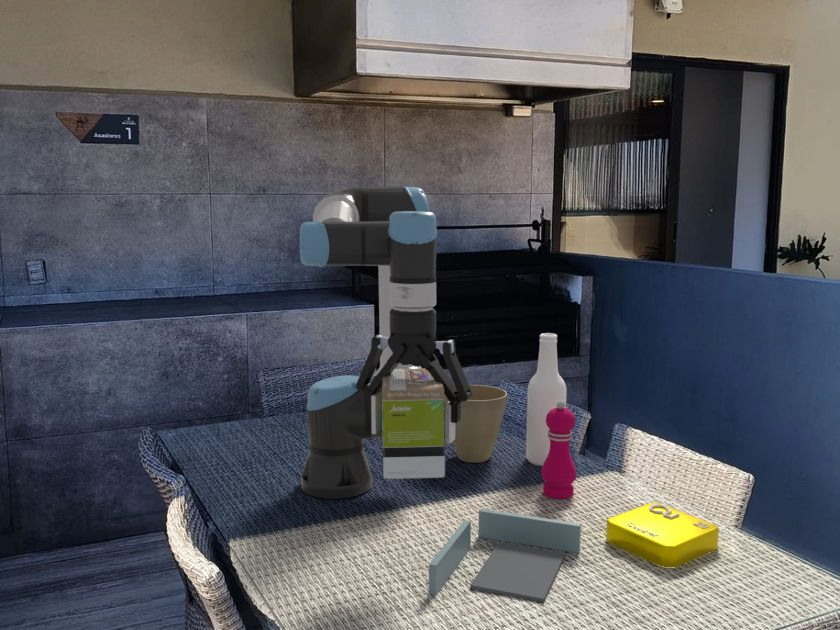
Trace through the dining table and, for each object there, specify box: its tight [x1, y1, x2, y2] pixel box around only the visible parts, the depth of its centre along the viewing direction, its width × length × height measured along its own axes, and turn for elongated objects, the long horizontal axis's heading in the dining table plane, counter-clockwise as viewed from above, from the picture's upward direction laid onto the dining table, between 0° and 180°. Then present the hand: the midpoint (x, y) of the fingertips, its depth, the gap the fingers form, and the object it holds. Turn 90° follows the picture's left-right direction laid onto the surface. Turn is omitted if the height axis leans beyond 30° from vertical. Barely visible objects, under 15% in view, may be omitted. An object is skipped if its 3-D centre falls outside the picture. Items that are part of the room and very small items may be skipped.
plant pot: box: [444, 384, 508, 464], centre depth 191 cm, size 15×15×16 cm
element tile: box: [605, 502, 720, 567], centre depth 147 cm, size 15×15×5 cm
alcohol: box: [525, 332, 567, 467], centre depth 188 cm, size 9×9×30 cm
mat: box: [469, 541, 566, 603], centre depth 137 cm, size 12×17×1 cm
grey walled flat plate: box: [428, 508, 582, 596], centre depth 136 cm, size 20×24×5 cm
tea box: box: [381, 367, 446, 480], centre depth 134 cm, size 15×10×15 cm, turn 3°
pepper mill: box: [540, 401, 577, 500], centre depth 169 cm, size 7×7×20 cm
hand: (412, 436), depth 135 cm, fingers closed on tea box, 12 cm apart
